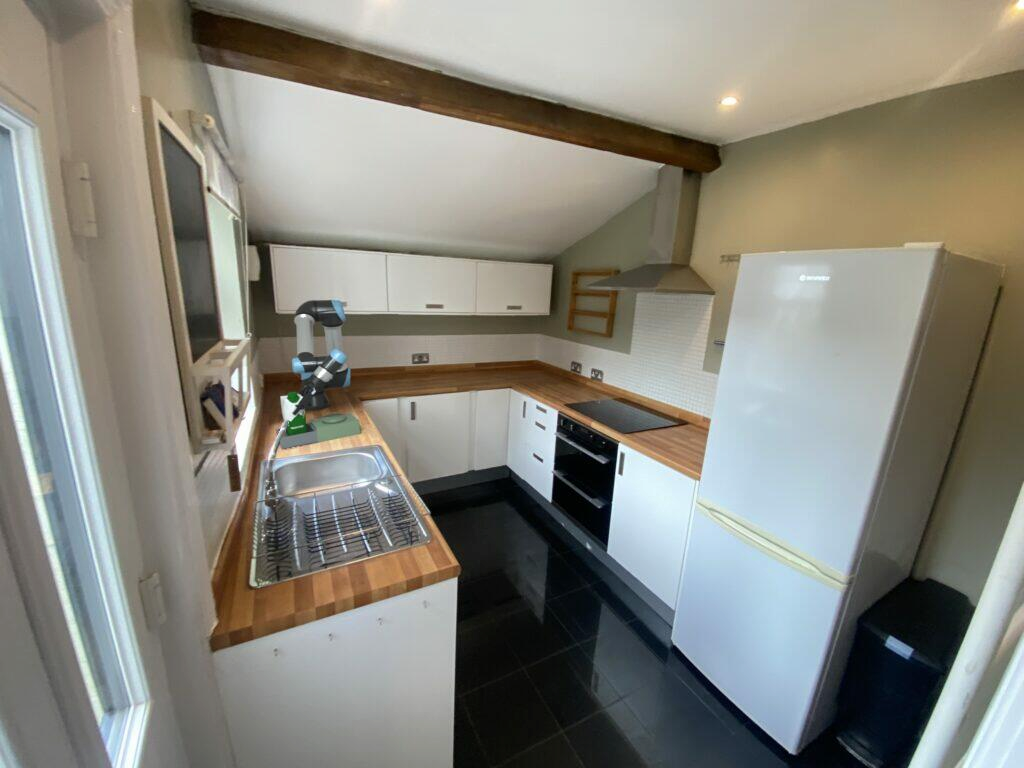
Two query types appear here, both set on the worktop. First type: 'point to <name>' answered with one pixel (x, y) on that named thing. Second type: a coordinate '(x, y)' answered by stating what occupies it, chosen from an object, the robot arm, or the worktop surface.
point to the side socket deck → (323, 430)
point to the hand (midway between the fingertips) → (286, 417)
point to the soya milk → (299, 421)
